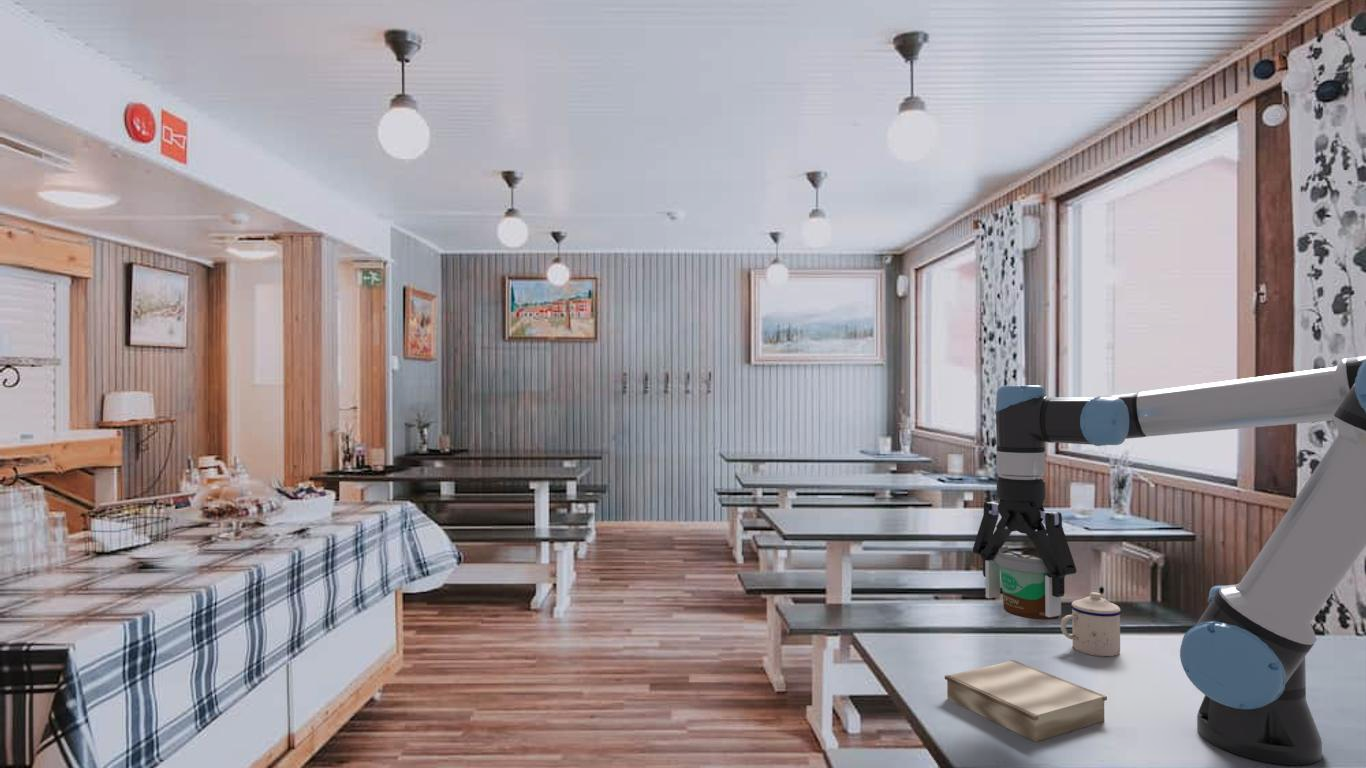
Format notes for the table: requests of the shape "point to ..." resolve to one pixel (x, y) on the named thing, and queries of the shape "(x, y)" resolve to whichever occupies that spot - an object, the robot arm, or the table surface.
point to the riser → (1026, 699)
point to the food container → (1023, 584)
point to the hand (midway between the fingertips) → (1021, 606)
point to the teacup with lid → (1094, 626)
